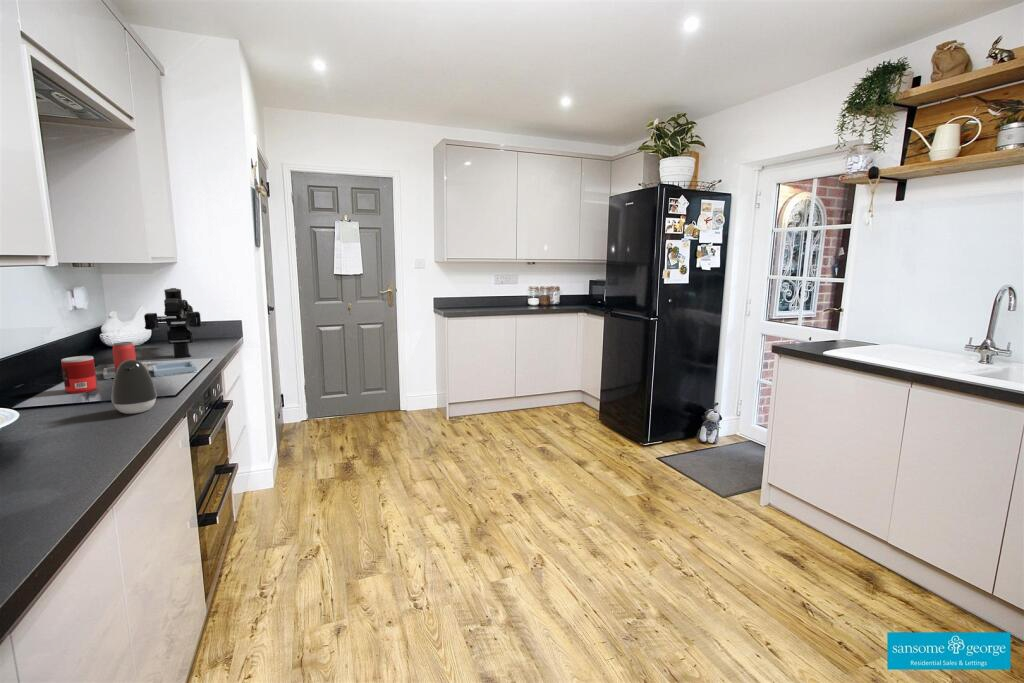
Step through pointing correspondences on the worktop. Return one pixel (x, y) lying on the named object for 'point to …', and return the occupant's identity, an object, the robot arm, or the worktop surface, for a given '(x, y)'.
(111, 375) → the bay frame
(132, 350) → the beer can
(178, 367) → the tray
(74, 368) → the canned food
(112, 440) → the worktop surface
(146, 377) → the grey egg-shaped dome
